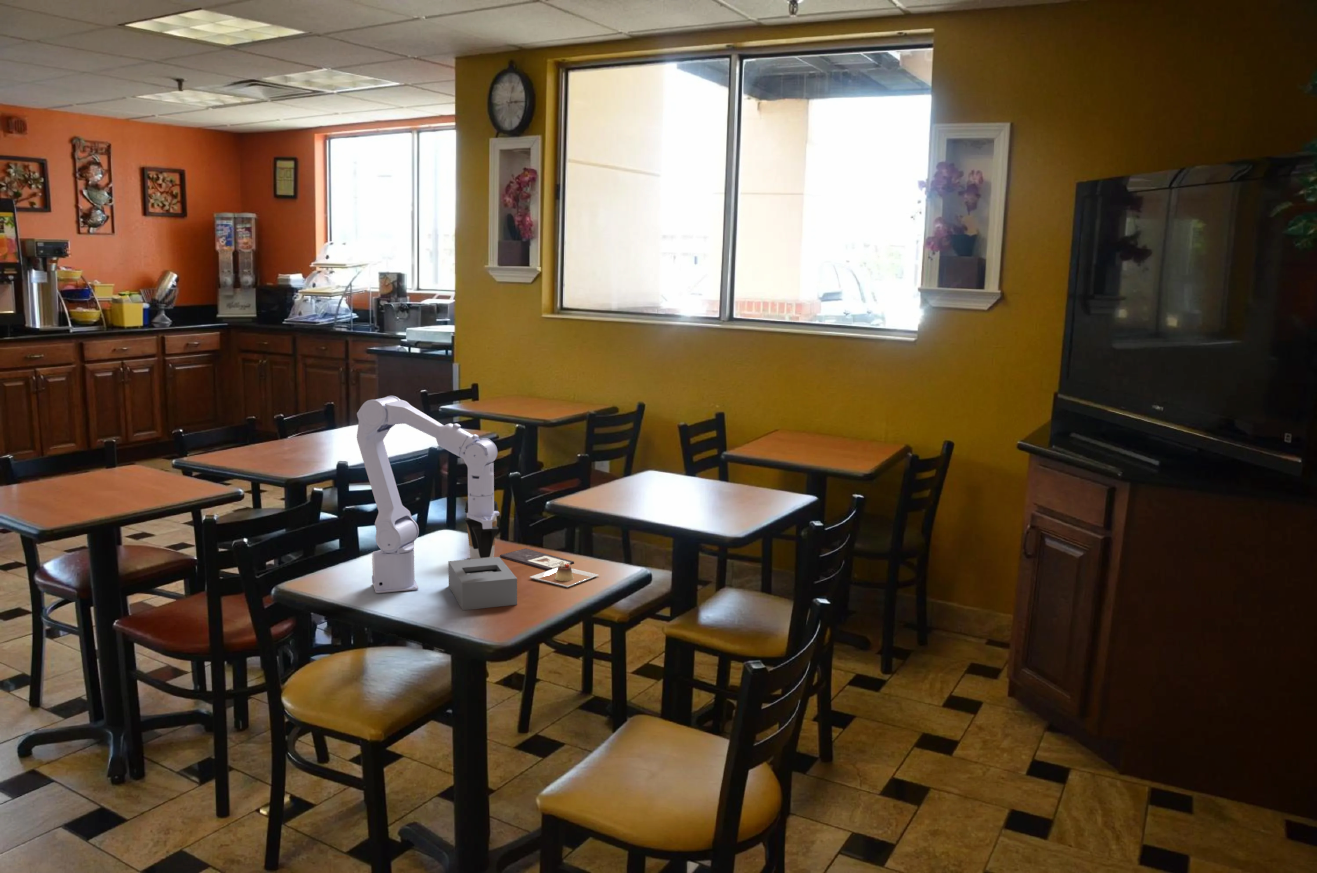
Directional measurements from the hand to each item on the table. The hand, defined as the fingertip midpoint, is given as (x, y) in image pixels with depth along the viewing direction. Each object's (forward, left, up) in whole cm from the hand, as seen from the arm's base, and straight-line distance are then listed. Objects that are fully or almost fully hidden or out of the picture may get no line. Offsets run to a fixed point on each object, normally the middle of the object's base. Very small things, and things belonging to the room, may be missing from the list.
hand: (481, 552), depth 221 cm
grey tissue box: (0, 0, -10) cm, 10 cm away
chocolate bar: (+19, +24, -10) cm, 32 cm away
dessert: (+21, +7, -11) cm, 25 cm away
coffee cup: (+6, +30, -10) cm, 32 cm away
